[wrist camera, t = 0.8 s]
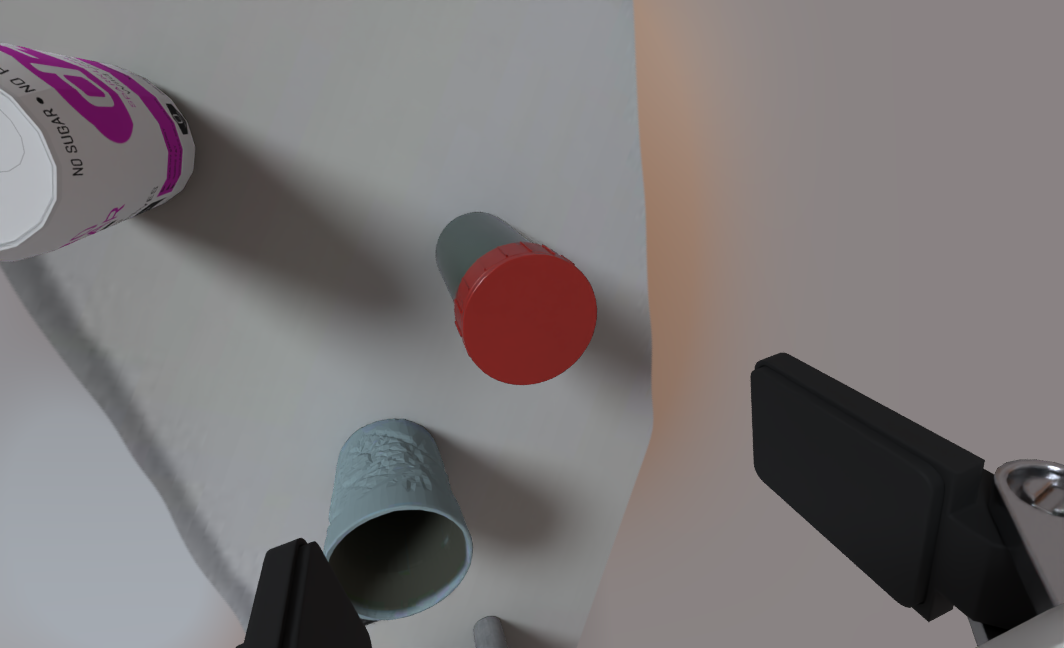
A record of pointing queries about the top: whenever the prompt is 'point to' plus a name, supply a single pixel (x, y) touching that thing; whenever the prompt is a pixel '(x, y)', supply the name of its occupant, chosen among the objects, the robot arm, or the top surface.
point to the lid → (524, 313)
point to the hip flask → (489, 633)
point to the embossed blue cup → (395, 522)
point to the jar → (470, 244)
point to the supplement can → (81, 149)
